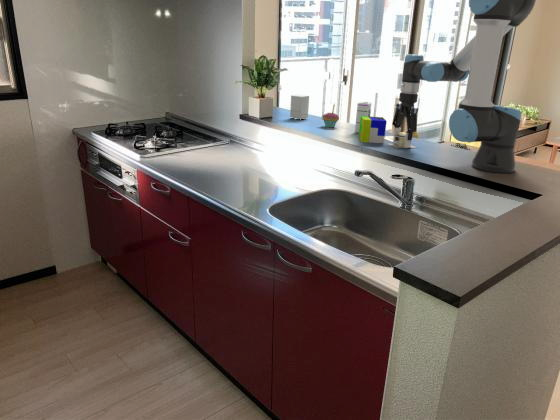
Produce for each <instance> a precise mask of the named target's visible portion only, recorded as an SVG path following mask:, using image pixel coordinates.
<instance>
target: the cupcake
mask: <svg viewBox="0 0 560 420" xmlns="http://www.w3.org/2000/svg"><path fill="white" fill-rule="evenodd" d="M335 103H336V102H334V103H333V107H332V111H331V112H327V113H325V114H323V115H322V116H321V117H322V119H321V120H323V122H324V127H325V128H329V127H334V128H335V126H336V124H337V123H338V121H339V119H340V116H339V115H338V114H336V113H334V111H335V106H336V104H335Z"/></svg>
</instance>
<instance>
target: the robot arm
mask: <svg viewBox="0 0 560 420" xmlns="http://www.w3.org/2000/svg"><path fill="white" fill-rule="evenodd" d="M536 1H537V0H468V7H469V9H470V11H471V12H472V14H474V15H473V22H474V23H475V25H476V32H475V35H474V36H473V37H472V39H470V40H469V42H467V44H465V46H464V47H463V48H462V49H461V50H460V51H459V52H458V53H457V54H456V55H455V56H454V57H453V58H452V59H451V60H450V61H433V60H432V61H431V60H430V61H429V60H424V59H425V58H424V55H422V54H415V53H414V54H411V53H407V54H406V55H405V56H404V62H403V67H402V77H401V84H400V93H399V96H398V97H399V99H398V101H399V102H400V103H396V107H395V112H394V115H393V120H392V123H391V124H392V126H393V127H394V133H393V136H394V135H397V134H398V133H395V132H402V124H403V122H404V120H405V118H406V130H407V131H405V132H406V137H405V144H404V147H405V148H404V149H408V148H410V147H411V145H412V139H413V138H412V137H413V134H415V133H417V129H418V111H419V108H418V107H415V103H417V102H418V98H419V94H418V93H419V92H420V84H421V81H425V82H428V83H430V82H431V83H436V82H452V83H453V82H454V83H457V82H463V81H465V80H466V79H467V84H466V90H465V96H464V98H463V99H462V100H460V101H459V103H458V108H457V109H455V110H453V112H452V113H451V114H450V116H449V120H448V127H449V132H450V134H451V135H452V137H453V138H454V139H455V140H456V141H458V142H461V143H469V144H470V143H478V142H479V143H480V146H479V148H478V149H477V152H476V153H475V156H474V157H473V158H472V161H471V167H474V168H475V169H478V170H481V171H485V172H490V173H499V174H509V173H510V174H511V173H513V172H515V169H516V162H515V161H516V160H515V159H516V158H515V147H516V142H517V137H518V134H519V129H520V126H521V121H522V120H521V119H522V111H521V109H518V108H514V107H513V108H512V107H507V106H503V105H498V104H497V105H496V104H494V102H492V95H493V90H494V85H495V80H496V75H497V68H498V63H499V59H500V52H501V48H502V42H503V37H504V36H505V35H507V34H508V32H510V30H512V28H517V27H519V26H520V25H521V24H522V23H523V22H524V21H525V20H526V19H527V18H528V17H529V15H530V14H531V12H532V10H533V9H534V6H535V5H536ZM399 135H401V134H399ZM394 140H395V136H394V139H393V142H394V143H393V142H392V143H393V144H395V143H399V142H396V141H394Z"/></svg>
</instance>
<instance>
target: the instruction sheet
mask: <svg viewBox="0 0 560 420" xmlns="http://www.w3.org/2000/svg"><path fill="white" fill-rule="evenodd" d="M393 139H394V135H385V138H384V141H388V142H389V143H390V142H391V143H392V144H395V143H394V142H393Z"/></svg>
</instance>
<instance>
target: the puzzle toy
mask: <svg viewBox="0 0 560 420" xmlns="http://www.w3.org/2000/svg"><path fill="white" fill-rule="evenodd" d="M387 122H388V121H387V120H386V119H385V118H384V117H382V116H370V117H368V116H361V120H360V128H359V133H358V139H359V140H360V142H361V143H374V144H384V143H385V139H384V138H385V136H386V129H387Z"/></svg>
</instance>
